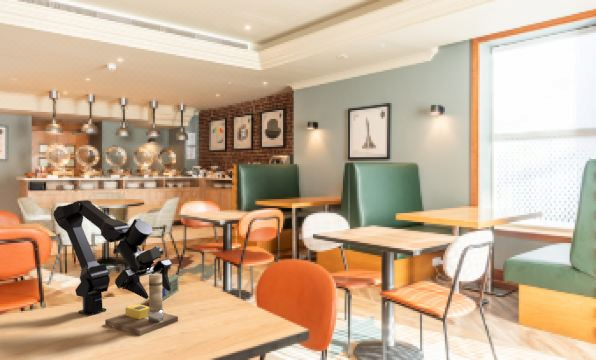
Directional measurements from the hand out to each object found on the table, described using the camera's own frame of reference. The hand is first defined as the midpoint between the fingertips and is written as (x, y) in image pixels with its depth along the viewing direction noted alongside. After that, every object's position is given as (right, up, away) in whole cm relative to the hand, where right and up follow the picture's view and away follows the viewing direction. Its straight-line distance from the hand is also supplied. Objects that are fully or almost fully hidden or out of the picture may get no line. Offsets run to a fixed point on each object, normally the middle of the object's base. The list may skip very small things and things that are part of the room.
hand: (159, 294), depth 132 cm
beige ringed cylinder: (-1, -8, +1) cm, 8 cm away
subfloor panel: (-6, -10, +3) cm, 12 cm away
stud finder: (-8, -8, +5) cm, 13 cm away
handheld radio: (-8, -10, +27) cm, 30 cm away
